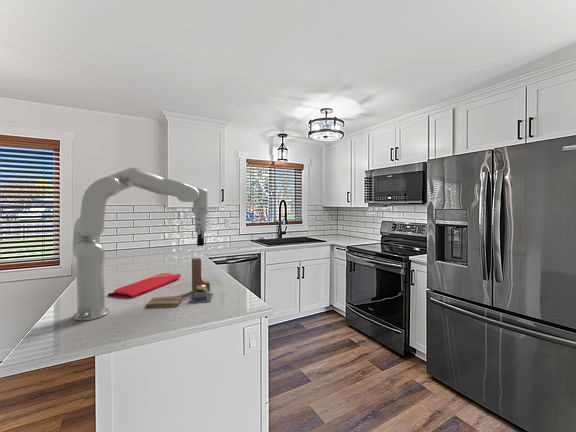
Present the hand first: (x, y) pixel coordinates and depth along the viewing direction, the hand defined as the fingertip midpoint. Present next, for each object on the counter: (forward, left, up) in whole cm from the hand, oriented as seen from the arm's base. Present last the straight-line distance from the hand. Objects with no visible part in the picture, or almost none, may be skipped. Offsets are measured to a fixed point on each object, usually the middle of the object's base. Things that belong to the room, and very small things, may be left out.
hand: (200, 245), depth 157 cm
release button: (-13, -2, -21) cm, 24 cm away
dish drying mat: (+14, +31, -26) cm, 43 cm away
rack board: (-17, +14, -25) cm, 34 cm away
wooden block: (0, 0, -25) cm, 25 cm away
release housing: (-13, -2, -25) cm, 28 cm away
